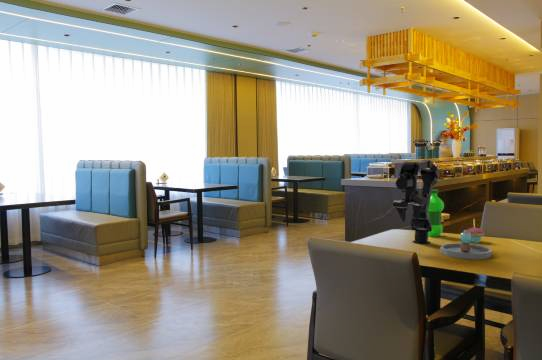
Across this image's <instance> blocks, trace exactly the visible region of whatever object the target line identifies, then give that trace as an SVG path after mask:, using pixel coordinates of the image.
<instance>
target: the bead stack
mask: <svg viewBox="0 0 542 360" xmlns="http://www.w3.org/2000/svg"><path fill="white" fill-rule="evenodd" d="M467 230H468V229H464V230H463V232H460V243H462V244H461V245H460V249H461V251H459V252H464V253H472V252H470V249H471V246H470V244H472V242H471V234H470V233H468V231H467Z"/></svg>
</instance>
